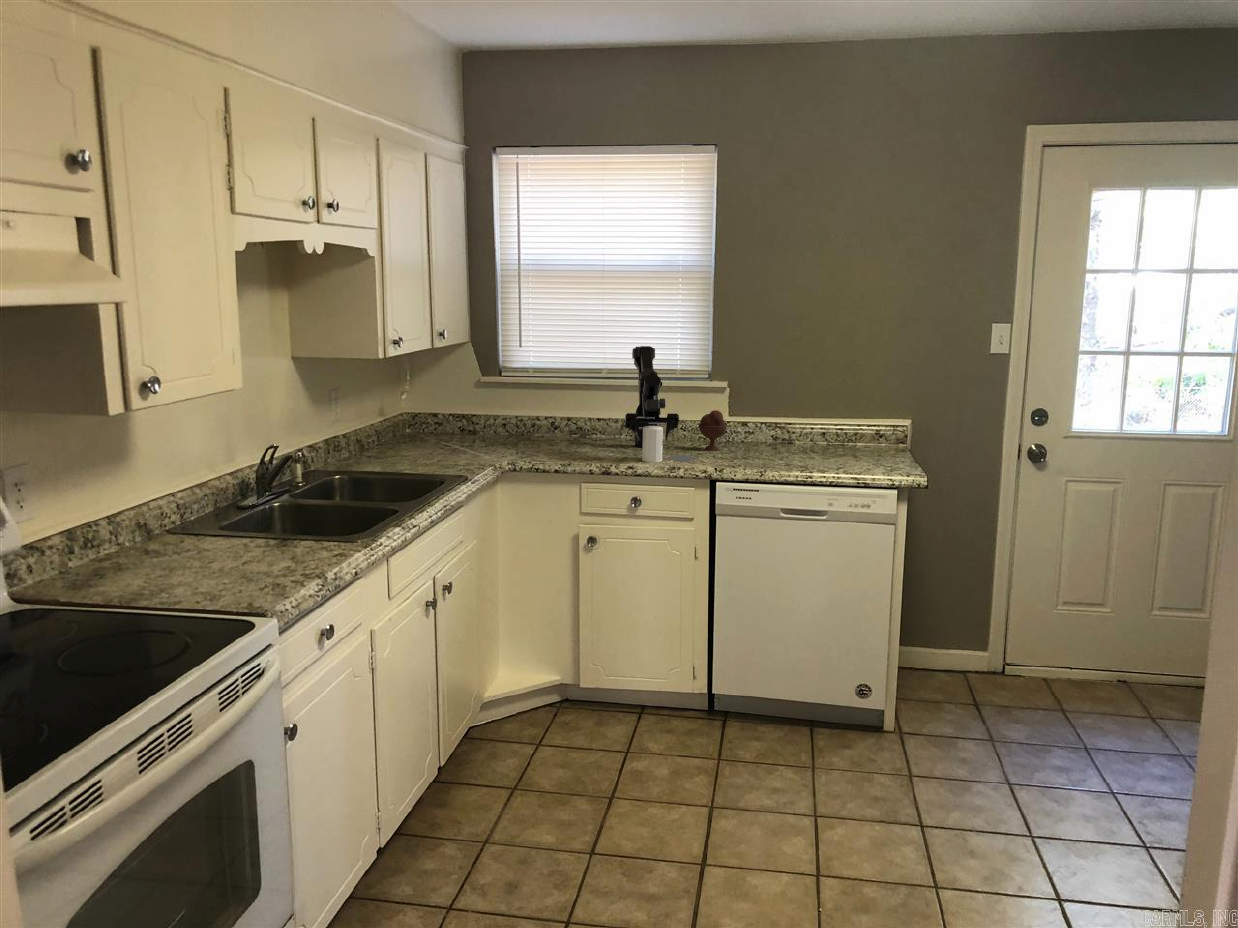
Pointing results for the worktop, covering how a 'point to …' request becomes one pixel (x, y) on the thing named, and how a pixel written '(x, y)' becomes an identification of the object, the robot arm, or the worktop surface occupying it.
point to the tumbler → (652, 443)
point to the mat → (682, 458)
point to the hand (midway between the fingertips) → (653, 440)
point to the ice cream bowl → (712, 428)
